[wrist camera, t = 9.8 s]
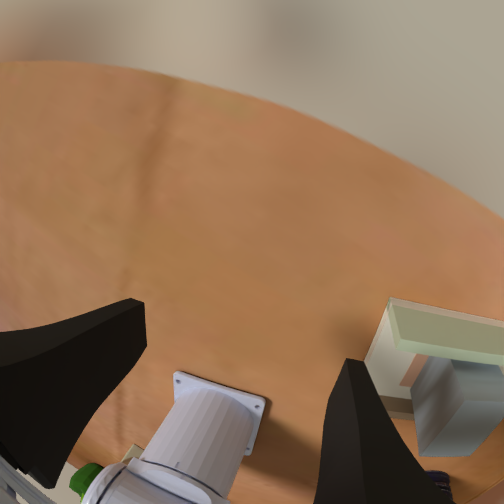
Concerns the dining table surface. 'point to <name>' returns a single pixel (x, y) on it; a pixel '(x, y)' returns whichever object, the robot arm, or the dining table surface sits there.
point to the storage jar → (441, 481)
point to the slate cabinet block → (456, 405)
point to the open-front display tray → (426, 347)
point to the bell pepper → (84, 478)
